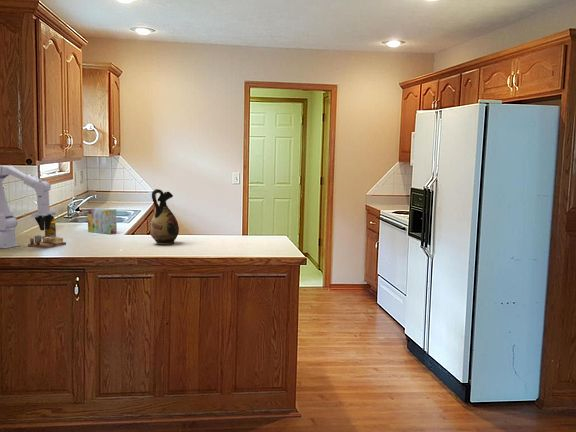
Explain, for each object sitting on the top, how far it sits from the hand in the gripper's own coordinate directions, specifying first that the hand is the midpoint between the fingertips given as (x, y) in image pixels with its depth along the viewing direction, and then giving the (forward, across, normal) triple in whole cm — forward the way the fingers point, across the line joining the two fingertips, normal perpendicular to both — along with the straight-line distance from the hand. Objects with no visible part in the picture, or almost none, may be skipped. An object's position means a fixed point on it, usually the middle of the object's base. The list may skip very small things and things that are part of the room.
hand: (44, 229), depth 300 cm
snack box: (+10, +54, +12) cm, 56 cm away
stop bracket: (+9, +15, +13) cm, 22 cm away
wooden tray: (+9, +5, +5) cm, 12 cm away
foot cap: (+10, +9, +16) cm, 21 cm away
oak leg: (+8, +7, +3) cm, 11 cm away
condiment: (+10, +26, +27) cm, 39 cm away
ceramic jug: (+10, +35, -50) cm, 62 cm away
